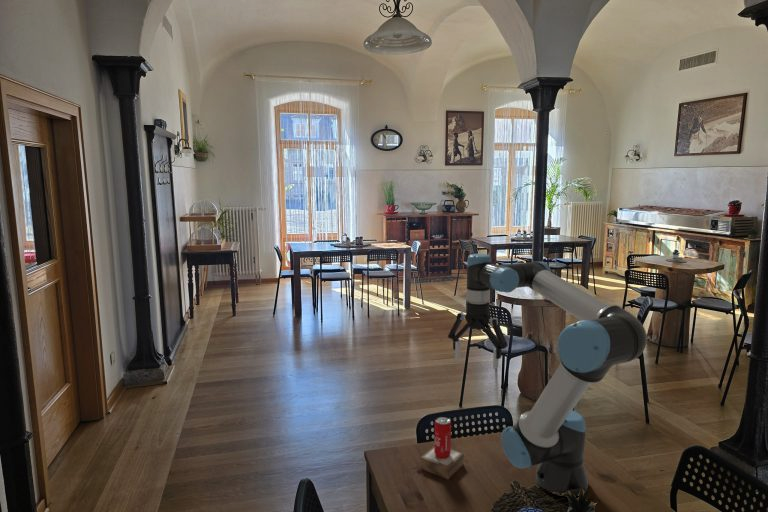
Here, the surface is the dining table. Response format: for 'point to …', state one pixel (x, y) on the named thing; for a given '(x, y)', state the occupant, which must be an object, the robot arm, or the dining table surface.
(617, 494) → the dining table surface
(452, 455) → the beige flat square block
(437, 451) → the beverage can
